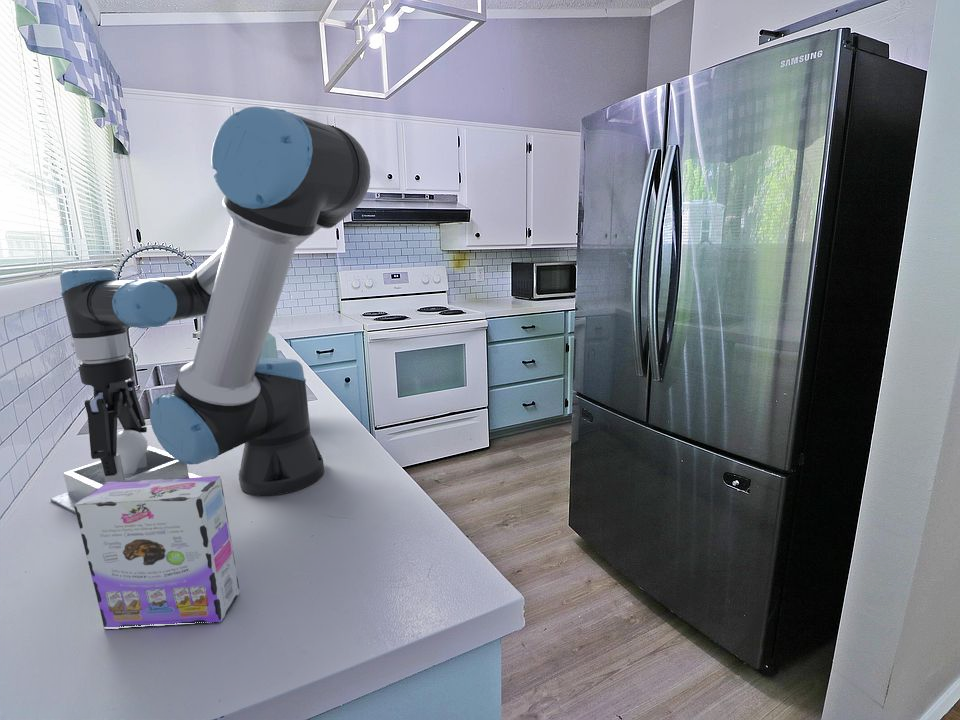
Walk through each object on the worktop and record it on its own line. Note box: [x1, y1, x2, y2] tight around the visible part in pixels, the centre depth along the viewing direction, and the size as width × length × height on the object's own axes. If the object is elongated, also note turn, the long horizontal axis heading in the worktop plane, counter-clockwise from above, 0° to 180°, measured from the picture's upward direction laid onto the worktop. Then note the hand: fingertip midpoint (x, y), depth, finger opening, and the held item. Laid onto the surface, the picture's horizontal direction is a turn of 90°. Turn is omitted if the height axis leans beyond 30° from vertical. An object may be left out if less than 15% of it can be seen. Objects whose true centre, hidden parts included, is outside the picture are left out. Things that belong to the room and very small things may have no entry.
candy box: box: [74, 475, 241, 628], centre depth 61 cm, size 14×6×16 cm, turn 92°
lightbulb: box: [116, 429, 149, 479], centre depth 93 cm, size 6×6×11 cm
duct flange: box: [50, 445, 201, 515], centre depth 94 cm, size 18×18×5 cm
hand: (128, 478), depth 94 cm, fingers open, 9 cm apart
